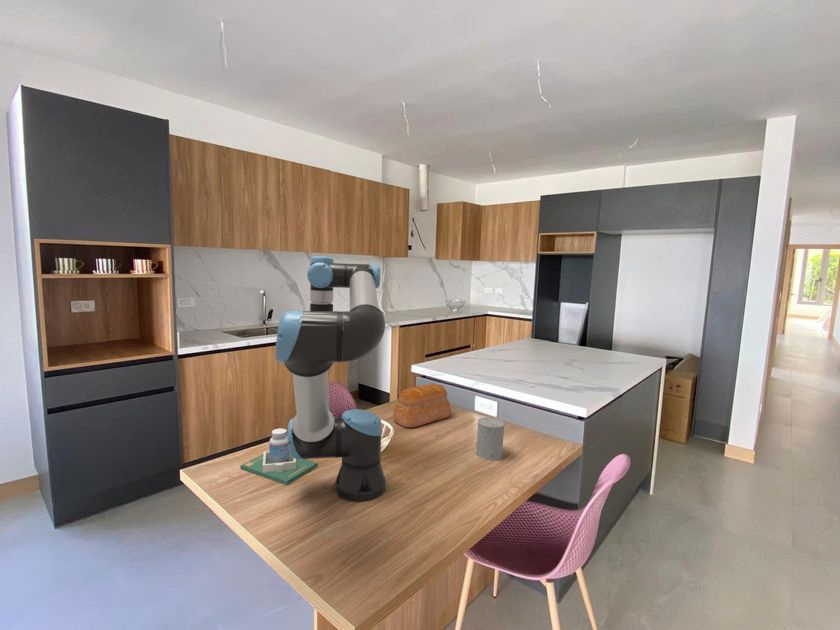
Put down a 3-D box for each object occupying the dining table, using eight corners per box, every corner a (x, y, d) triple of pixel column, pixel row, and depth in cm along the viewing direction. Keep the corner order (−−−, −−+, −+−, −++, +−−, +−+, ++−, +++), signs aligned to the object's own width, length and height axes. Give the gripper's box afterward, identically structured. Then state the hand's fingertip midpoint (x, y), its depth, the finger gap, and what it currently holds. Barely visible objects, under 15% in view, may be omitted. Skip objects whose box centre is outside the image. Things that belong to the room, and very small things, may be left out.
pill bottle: (283, 469, 135) (283, 435, 134) (265, 466, 137) (265, 433, 135) (292, 460, 141) (292, 428, 140) (275, 458, 142) (275, 426, 141)
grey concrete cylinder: (473, 457, 152) (474, 424, 151) (479, 446, 161) (481, 415, 160) (499, 462, 149) (501, 429, 147) (504, 452, 157) (506, 420, 156)
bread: (453, 417, 191) (455, 385, 189) (409, 431, 174) (410, 395, 172) (433, 409, 201) (435, 378, 199) (389, 421, 184) (390, 387, 182)
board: (317, 466, 141) (317, 455, 140) (286, 485, 128) (286, 473, 128) (273, 452, 150) (273, 442, 149) (240, 468, 137) (240, 457, 137)
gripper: (344, 303, 142) (343, 372, 145) (313, 300, 148) (313, 366, 150) (330, 305, 135) (329, 377, 138) (298, 302, 141) (298, 371, 144)
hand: (320, 371), depth 144 cm, fingers closed
